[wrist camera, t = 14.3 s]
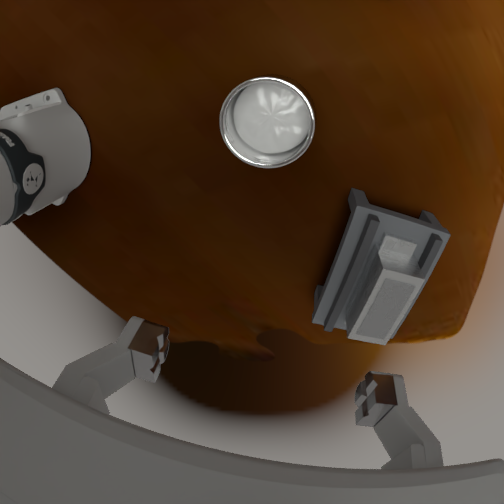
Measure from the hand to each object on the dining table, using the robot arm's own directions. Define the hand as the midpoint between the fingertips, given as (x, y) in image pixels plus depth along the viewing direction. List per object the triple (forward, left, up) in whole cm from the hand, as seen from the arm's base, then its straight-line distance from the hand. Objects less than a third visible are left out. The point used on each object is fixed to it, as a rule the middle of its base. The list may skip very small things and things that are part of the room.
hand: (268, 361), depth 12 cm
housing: (+13, -10, -23) cm, 28 cm away
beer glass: (-3, +6, -29) cm, 30 cm away
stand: (+13, -10, -29) cm, 33 cm away
